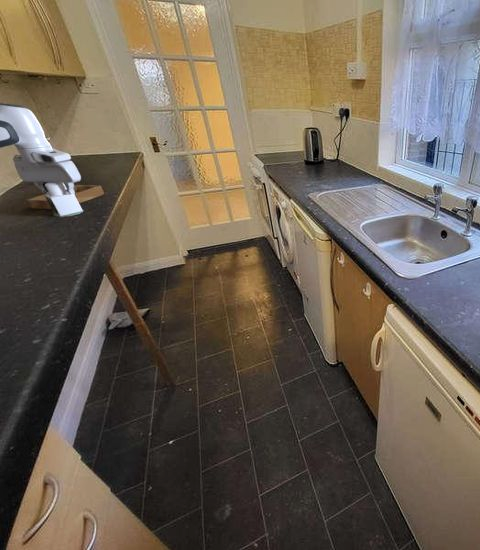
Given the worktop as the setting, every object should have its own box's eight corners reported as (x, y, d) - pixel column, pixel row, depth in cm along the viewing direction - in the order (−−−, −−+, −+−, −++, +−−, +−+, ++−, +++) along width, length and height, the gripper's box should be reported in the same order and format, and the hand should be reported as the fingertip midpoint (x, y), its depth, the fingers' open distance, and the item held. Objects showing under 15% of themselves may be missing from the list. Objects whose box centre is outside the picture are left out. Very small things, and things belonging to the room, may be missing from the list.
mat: (46, 216, 113) (46, 215, 113) (67, 208, 121) (67, 208, 121) (69, 217, 113) (69, 216, 113) (89, 209, 121) (89, 208, 121)
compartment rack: (30, 209, 120) (25, 199, 117) (79, 193, 139) (75, 185, 137) (59, 210, 119) (54, 200, 117) (104, 194, 139) (100, 185, 137)
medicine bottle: (53, 212, 116) (36, 181, 110) (76, 207, 121) (60, 178, 115) (60, 216, 113) (42, 184, 107) (83, 211, 118) (67, 180, 112)
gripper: (1, 156, 103) (24, 195, 111) (58, 157, 103) (78, 196, 110) (19, 153, 109) (41, 190, 116) (73, 154, 108) (91, 191, 116)
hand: (59, 193), depth 113 cm, fingers open, 8 cm apart
